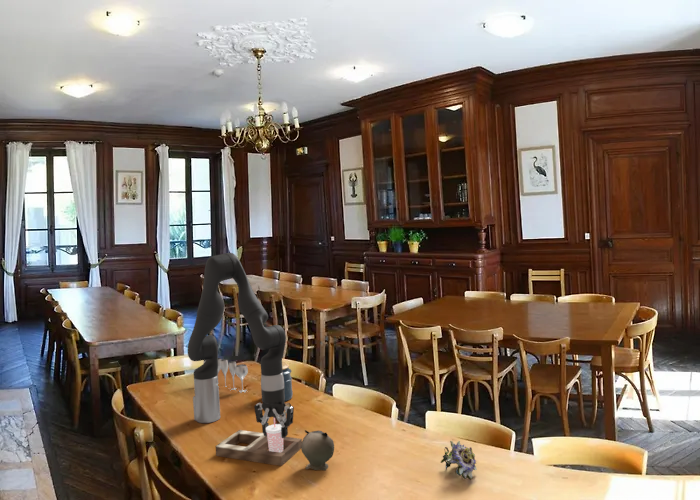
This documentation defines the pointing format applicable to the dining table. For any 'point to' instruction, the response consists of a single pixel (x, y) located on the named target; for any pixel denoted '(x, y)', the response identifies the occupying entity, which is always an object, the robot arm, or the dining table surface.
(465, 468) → the passion flower
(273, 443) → the beverage cup
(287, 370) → the canister
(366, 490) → the dining table surface
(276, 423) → the tin
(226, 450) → the pocket rack
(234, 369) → the goblet set
